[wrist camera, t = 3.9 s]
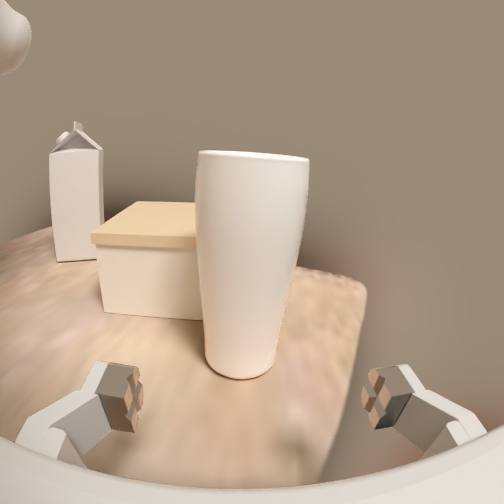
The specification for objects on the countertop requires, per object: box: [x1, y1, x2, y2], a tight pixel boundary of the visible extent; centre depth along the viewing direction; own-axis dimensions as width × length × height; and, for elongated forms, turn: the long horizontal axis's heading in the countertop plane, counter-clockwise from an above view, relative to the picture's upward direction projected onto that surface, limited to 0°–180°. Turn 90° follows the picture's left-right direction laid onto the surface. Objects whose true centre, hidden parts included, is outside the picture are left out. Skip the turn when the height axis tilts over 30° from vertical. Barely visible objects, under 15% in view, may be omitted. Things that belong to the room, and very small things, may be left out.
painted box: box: [90, 201, 203, 320], centre depth 32 cm, size 15×15×8 cm
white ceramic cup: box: [195, 151, 310, 379], centre depth 20 cm, size 7×7×15 cm
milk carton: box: [49, 121, 104, 262], centre depth 37 cm, size 7×7×19 cm
